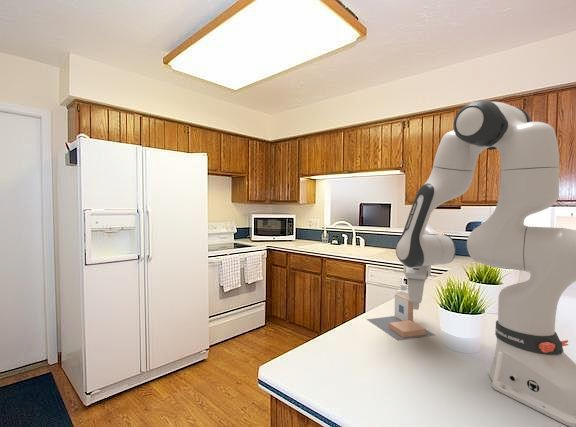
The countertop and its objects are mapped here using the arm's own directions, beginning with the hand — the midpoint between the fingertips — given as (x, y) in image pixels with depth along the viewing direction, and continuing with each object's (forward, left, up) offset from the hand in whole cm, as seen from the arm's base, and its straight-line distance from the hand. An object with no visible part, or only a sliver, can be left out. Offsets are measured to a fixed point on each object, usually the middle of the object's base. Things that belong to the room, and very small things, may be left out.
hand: (416, 308), depth 105 cm
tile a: (0, -1, -7) cm, 7 cm away
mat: (+4, +4, -8) cm, 10 cm away
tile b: (+9, -2, -8) cm, 12 cm away
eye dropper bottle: (+20, -11, -8) cm, 25 cm away
